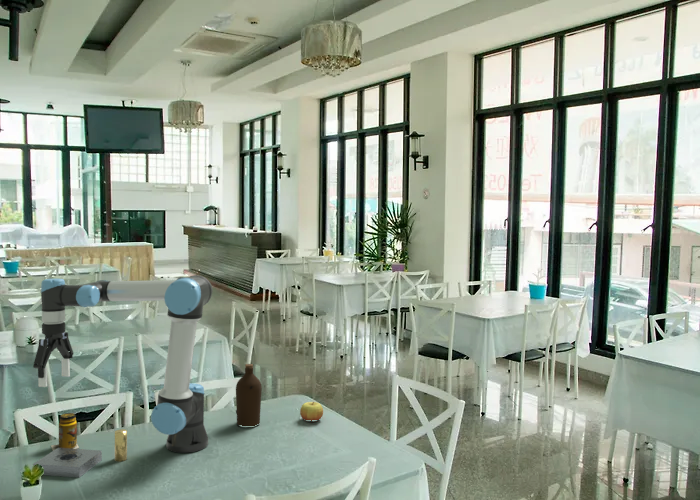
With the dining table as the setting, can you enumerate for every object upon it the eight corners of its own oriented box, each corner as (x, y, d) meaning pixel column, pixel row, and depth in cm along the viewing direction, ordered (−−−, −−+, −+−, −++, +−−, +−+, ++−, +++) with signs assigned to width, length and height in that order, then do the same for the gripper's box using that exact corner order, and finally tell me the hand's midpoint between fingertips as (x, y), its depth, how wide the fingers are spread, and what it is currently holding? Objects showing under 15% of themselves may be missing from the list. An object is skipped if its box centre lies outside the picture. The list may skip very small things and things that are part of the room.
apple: (327, 418, 258) (327, 400, 257) (316, 425, 249) (317, 406, 248) (306, 415, 262) (307, 397, 261) (295, 422, 253) (296, 403, 252)
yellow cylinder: (128, 457, 213) (129, 429, 212) (123, 461, 209) (123, 433, 208) (118, 456, 213) (118, 428, 212) (112, 461, 209) (112, 433, 209)
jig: (101, 460, 210) (101, 450, 209) (79, 477, 196) (79, 467, 195) (58, 457, 211) (58, 447, 211) (33, 474, 197) (33, 463, 197)
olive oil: (266, 423, 250) (267, 364, 248) (247, 430, 241) (248, 369, 240) (249, 418, 256) (250, 360, 255) (229, 424, 248) (230, 364, 247)
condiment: (79, 448, 220) (79, 416, 219) (53, 453, 215) (53, 420, 214) (75, 441, 226) (75, 410, 225) (50, 446, 221) (50, 414, 220)
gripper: (64, 316, 226) (65, 371, 227) (20, 328, 201) (22, 390, 202) (82, 316, 225) (83, 372, 226) (41, 329, 200) (42, 391, 202)
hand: (54, 381), depth 214 cm, fingers open, 13 cm apart
